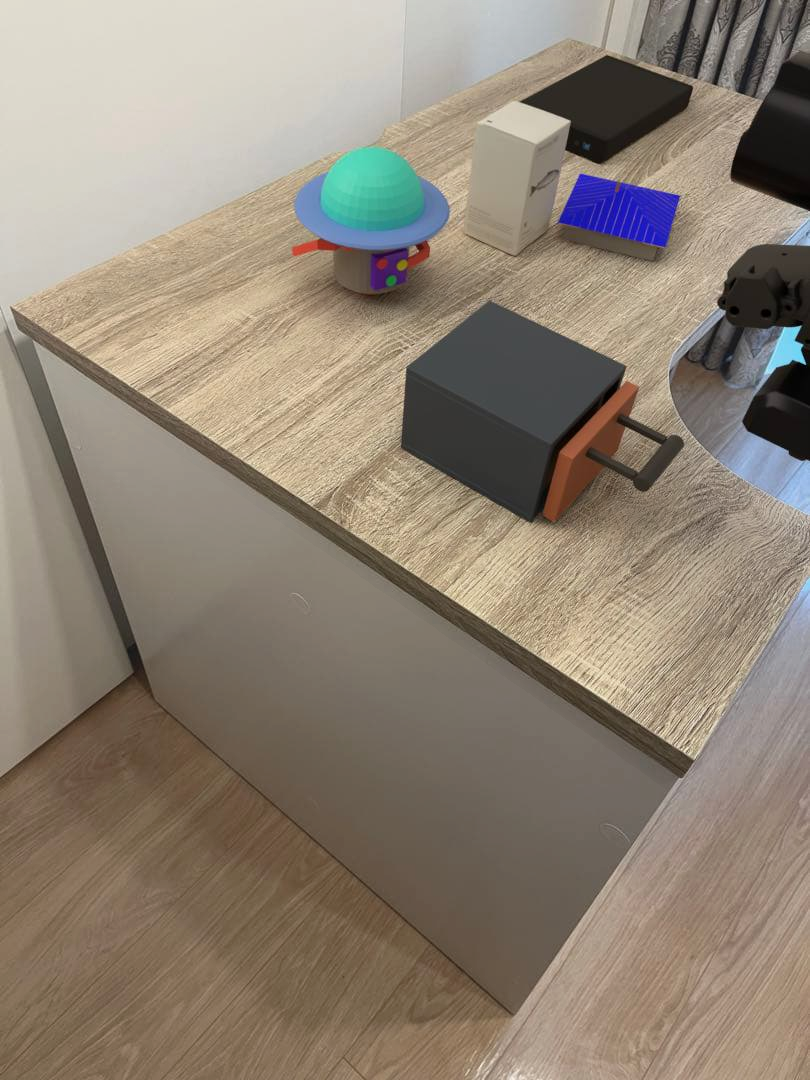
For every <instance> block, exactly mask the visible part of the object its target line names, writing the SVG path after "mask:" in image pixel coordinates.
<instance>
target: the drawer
mask: <svg viewBox="0 0 810 1080" xmlns="http://www.w3.org/2000/svg"><path fill="white" fill-rule="evenodd" d="M639 390H640V386H639V385H636V384H634V383H632V382H630V381H627V380H626V381H625V382H623V384H621V386H620V388H619V389H618V390H617V392H616V393H615V394H614V395H613V396H612V397H611V398H610V399H609V400H608V401H607V402H606V403H605V404H604V405H603V406H602V407H601V405H602V401H603V398H604V395H605V394H604V395H603V396H602V397H601V398H600V399H599V400H598V401H597V402H596V403H595V404H594V405H593V406H592V407H591V408H590V409H589V410H588V411H587V412H586V413H585V415H584V416H583V417H582V418H581V419H580V420H579V421H578V422H577V423H576V424H575V425H574V426H573V427H572V428H571V429H570V430H569V431H568V432H567V433H566V434H565V435H564V436H563V437H562V438H561V440H560V441H559V442H558V443H557V444H556V445H555V446H554V448H553V452H552V456H551V460H550V464H549V468H548V471H547V475H546V479H545V483H544V487H543V491H544V490H545V489H546V488H547V487H548V486H549V485H550V484H551V485H550V489H549V493H548V496H547V500H546V504H545V507H544V509H543V510H542V516H543V517H544V518H547V519H548V520H550V521H551V522H553V523H555V522H556V521H557V520H558V519H559V518H560V517H561V516H562V515H563V514H564V513H565V511H566V510H567V509H569V507H570V506H571V505H572V504H573V502H575V500H576V499H577V498H578V497H579V495H580V494H581V493H582V492H583V491H584V490H585V489H586V487H587V486H588V485H589V484H590V483H591V482H592V481H593V480H594V478H595V477H597V475H598V474H599V473H600V472H601V470H602V469H603V468H604V467H605V468H607V469H609V470H611V471H612V472H614V473H616V474H618V475H619V476H622V477H623V478H626V479H627V480H630V481H631V482H632V486H633V487H634V488H635V490H637V491H638V492H641V493H646V492H649V490H650V489H651V488H653V486H654V485H655V483H656V482H657V481H658V480H659V478H660V477H661V476H662V475H663V474H664V472H665V471H666V470H667V468H668V467H669V466H670V464H672V462H673V461H674V460H675V459H676V457H677V456H678V455H679V454H680V452H681V451H682V450H683V449H684V447H685V441H684V438H682V437H681V436H680V435H678V434H670V435H669V436H667V435H665V434H663V433H661V432H659V431H657V430H656V429H653V428H651V427H649V426H647V425H645V424H643V423H641V422H639V421H637V420H635V419H633V418H632V417H630V416H631V414H632V413H631V412H632V410H633V407H634V404H635V401H636V398H637V396H638V393H639ZM626 429H629V430H631V431H633V432H635V433H637V434H639V435H640V436H643V437H644V438H647V439H649V440H651V441H652V442H654V443H656V444H658V445H660V446H659V447H658V449H657V450H656V451H655V452H654V454H652V456H651V457H650V458H649V459H648V460H647V462H646V463H645V464H644V465H643V467H641V469H640V470H639V471H637V470H636V469H635V468H632V467H630V466H628V465H626V464H624V463H623V462H620V461H619V460H617V459H615V458H613V457H614V456H615V455H616V453H617V452H618V451H619V448H620V446H621V442H622V439H623V437H624V433H625V431H626ZM543 491H542V492H543Z"/></svg>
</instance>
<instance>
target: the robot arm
mask: <svg viewBox="0 0 810 1080" xmlns="http://www.w3.org/2000/svg"><path fill="white" fill-rule="evenodd" d="M741 134H742V135H741V136H740V138H739V141H738V144H737V146H736V150H735V152H734V155H733V158H732V163H731V167H730V173H729V174H730V175H729V178H730V182H732V183H734V184H736V185H740V186H742V187H745V188H747V189H750V190H753V191H755V192H758V193H760V194H763V195H766V196H769V197H771V198H774V199H776V200H779V201H781V202H784V203H786V204H789V205H792V206H795V207H798V208H800V209H802V210H805V211H808V212H810V52H806V51H804V50H798V51H796V52H795V53H793V54H792V55H791V56H790V57H788V58H786V60H785V61H783V62H782V63H781V65H780V68H779V69H778V73H777V76H776V79H775V81H774V84H773V85H772V86H771V88H770V89H769V91H768V92H767V94H766V95H765V97H764V99H762V102H761V104H760V105H759V107H758V109H757V110H756V113H755V115H754V116H753V119H752V121H751V123H750V124H749V127H748V128H747V129H746V130H745V131H744V132H743V133H741ZM716 303H717V306H718V308H719V309H720V310H722V311H725V313H724V314H725V319H726V321H727V322H728V323H729V324H730V325H731V326H733V327H738V328H739V327H740V328H749V329H759V330H769V329H771V328H772V327H778V328H798V327H799V330H798V332H797V334H796V336H795V338H794V342H796V343H798V344H801V345H802V346H801V348H800V352H801V356H802V357H803V361H804V363H803V362H800V361H798V360H797V361H796V360H795V359H792V360H790V362H789V363H787V364H783V365H778V366H776V367H775V368H774V370H773V371H772V372H771V373H770V375H769V376H768V377H767V379H766V380H765V381H764V382H763V384H762V385H761V386H760V388H759V389H758V390H757V392H756V393H755V394H754V396H753V397H752V400H751V401H750V403H749V405H748V407H747V409H746V411H745V414H744V416H743V418H742V420H741V424H742V425H743V426H744V428H745V430H746V432H748V433H750V434H752V435H755V436H756V437H758V438H760V439H763V440H765V441H766V442H769V443H771V444H773V445H774V446H777V447H779V448H781V449H783V450H785V451H786V452H787V453H788V455H789V456H790V457H792V458H794V459H796V460H798V461H800V462H805V461H808V462H810V245H803V244H802V245H799V244H778V243H777V244H775V243H763V244H757V245H753V246H751V247H749V248H748V249H746V251H744V253H743V254H742V255H741V256H740V257H739V258H738V259H737V260H736V261H735V262H734V263H733V264H732V265H731V266H730V267H729V269H728V270H727V273H726V279H725V280H724V281H723V291H722V293H721V295H720V296H719V297H718V298H717V301H716Z"/></svg>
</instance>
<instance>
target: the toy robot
mask: <svg viewBox="0 0 810 1080" xmlns="http://www.w3.org/2000/svg"><path fill="white" fill-rule="evenodd" d="M293 203H294V204H293V208H294V213H295V216H296V218H297V219H298V221H299V222H300V224H302V226H304V227H305V228H306V230H307V231H309V232H310V233H312V235H314V236H316V237H318V238H317V239H315V240H311V241H308V242H304V243H301V244H299V245H295V246H293V247H292V257H298V256H301V255H305V254H308V253H312V252H314V251H328V252H329V251H331V252H332V254H333V255H332V257H333V258H332V259H333V261H332V262H333V276H334V279H335V280H336V281H337V283H339V284H340V285H341V286H342V287H344V288H346V289H348V290H350V291H352V292H356V293H358V294H359V293H360V294H362V295H367V296H375V295H381V294H385V293H389V292H392V291H395V290H397V289H399V288H400V287H402V286H403V285H404V284H405V283H407V279H408V272H409V271H408V270H410V269H412V268H414V267H415V266H417V265H418V264H420V263H422V262H424V261H425V260H428V259H429V258H430V257H431V256H430V255H431V246H430V245H429V243H428V241H429V240H430V239H432V238H433V237H435V236H436V235H437V234H439V232H441V231H442V230H443V229H444V227H445V226H446V225H447V224H448V221H449V218H450V214H451V209H450V208H451V207H450V204H449V202H448V199H447V198H446V196H445V195H444V193H443V192H442V191H441V190H440V188H438V187H437V186H436V185H434V184H433V183H432V182H430V181H428V180H427V179H425V178H423V177H421V176H420V175H418V174H417V172H416V170H415V169H414V168H413V167H412V166H411V164H410V163H409V162H408V160H406V159H405V158H404V157H402V156H401V155H399V154H398V153H397V152H395V151H394V150H390V149H387V148H384V147H380V146H364V147H359V148H355V149H353V150H351V151H349V152H347V153H345V154H344V155H342V156H341V157H340V158H338V160H337V161H336V162H334V164H333V165H332V166H331V167H330V169H329V170H328V171H327V172H323V173H321V174H319V175H317V176H315V177H313V178H312V179H310V180H309V181H308V182H306V183H305V184H303V186H302V187H301V188H300V190H299V191H298V192H297V194H296V196H295V198H294V201H293ZM410 247H415V248H416V249H417V252H415V253H414V254H411V255H410Z"/></svg>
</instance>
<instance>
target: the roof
mask: <svg viewBox="0 0 810 1080" xmlns="http://www.w3.org/2000/svg"><path fill="white" fill-rule="evenodd" d="M680 198H681V195H680V194H675V193H671V192H665V191H661V190H656V189H652V188H649V187H644V186H639V185H634V184H630V183H626V182H621V181H616V180H612V179H608V178H604V177H603V178H602V177H598V176H594V175H590V174H585V173H579V175H578V177H577V179H576V182H575V183H574V185H573V188H572V190H571V192H570V194H569V196H568V198H567V201H566V203H565V205H564V208H563V210H562V212H561V214H560V217H559V219H558V220H557V224H558V225H563V226H564V231H563V236H562V240H563V241H567V242H571V243H574V244H580V245H584V246H588V247H592V248H596V249H601V250H604V251H608V252H613V253H617V254H622V255H626V256H630V257H633V258H634V257H635V258H639V259H643V260H646V261H647V260H648V261H651V262H653V261H654V259H655V256H656V253H657V250H658V248H660V249H661V248H662V249H666V247H667V243H668V240H669V236H670V233H671V230H672V226H673V223H674V220H675V216H676V213H677V209H678V205H679V202H680Z"/></svg>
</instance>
